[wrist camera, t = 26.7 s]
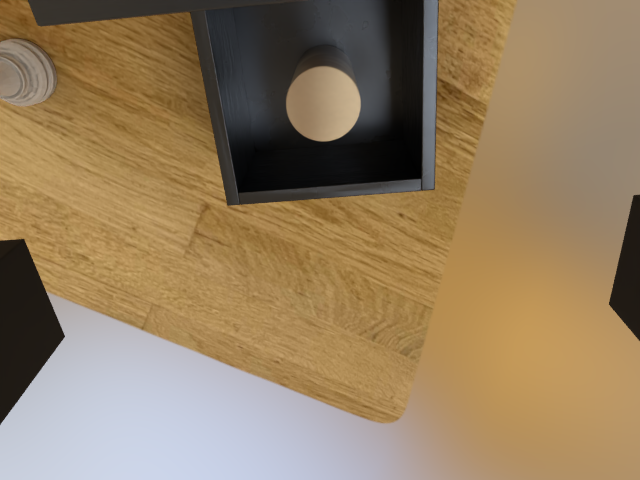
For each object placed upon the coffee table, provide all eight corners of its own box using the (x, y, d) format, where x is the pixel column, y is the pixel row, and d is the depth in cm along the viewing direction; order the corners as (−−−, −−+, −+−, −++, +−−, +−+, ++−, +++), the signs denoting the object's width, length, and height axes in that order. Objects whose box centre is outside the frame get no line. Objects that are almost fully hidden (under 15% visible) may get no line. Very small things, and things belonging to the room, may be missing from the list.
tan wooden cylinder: (351, 42, 33) (358, 62, 25) (354, 102, 35) (362, 138, 27) (292, 47, 33) (281, 69, 26) (298, 107, 35) (290, 144, 27)
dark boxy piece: (412, 145, 37) (434, 190, 30) (247, 159, 38) (227, 206, 30) (412, -65, 31) (440, -79, 23) (214, -44, 32) (177, -51, 24)
